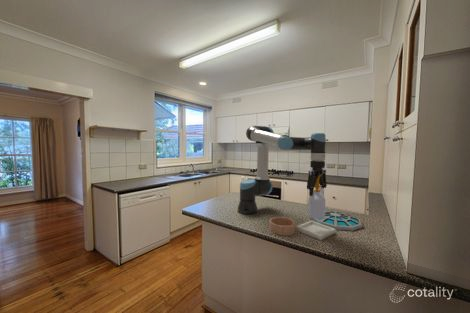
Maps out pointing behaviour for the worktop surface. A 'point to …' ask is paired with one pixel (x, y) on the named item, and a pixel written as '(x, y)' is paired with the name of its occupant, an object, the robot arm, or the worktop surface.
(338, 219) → the decorative platform
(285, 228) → the holder ring
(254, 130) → the robot arm
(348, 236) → the worktop surface
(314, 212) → the soap bottle
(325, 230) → the tray
